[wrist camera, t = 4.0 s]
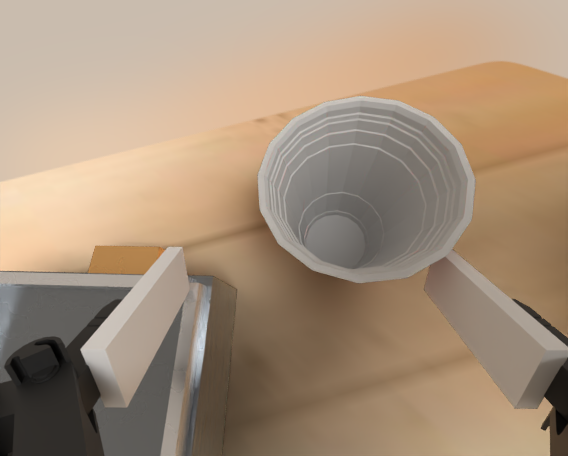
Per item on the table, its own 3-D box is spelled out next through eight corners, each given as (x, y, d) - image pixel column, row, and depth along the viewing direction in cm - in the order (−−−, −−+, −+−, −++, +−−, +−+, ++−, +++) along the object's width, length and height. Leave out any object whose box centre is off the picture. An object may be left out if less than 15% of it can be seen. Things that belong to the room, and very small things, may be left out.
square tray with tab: (239, 262, 24) (210, 232, 16) (216, 510, 18) (155, 651, 11) (82, 259, 25) (-18, 229, 17) (13, 495, 19) (-187, 614, 11)
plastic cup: (280, 186, 27) (268, 86, 16) (391, 193, 26) (462, 93, 15) (267, 296, 23) (237, 270, 12) (395, 309, 22) (493, 294, 11)
